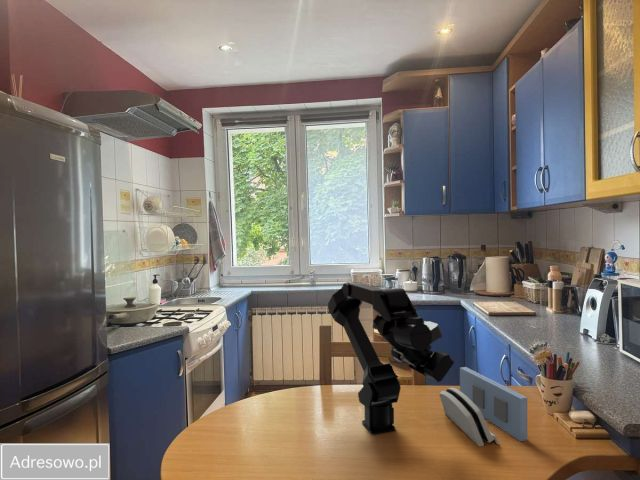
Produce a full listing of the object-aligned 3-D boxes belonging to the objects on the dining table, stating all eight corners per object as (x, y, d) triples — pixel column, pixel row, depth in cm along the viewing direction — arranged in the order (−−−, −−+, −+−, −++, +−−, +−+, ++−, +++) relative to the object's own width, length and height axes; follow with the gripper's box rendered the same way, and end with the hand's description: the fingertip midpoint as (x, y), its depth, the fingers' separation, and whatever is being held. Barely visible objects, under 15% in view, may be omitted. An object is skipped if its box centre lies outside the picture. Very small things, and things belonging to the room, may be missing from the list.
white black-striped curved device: (499, 444, 90) (486, 405, 90) (481, 453, 90) (467, 413, 89) (462, 411, 107) (450, 378, 106) (446, 419, 106) (434, 385, 106)
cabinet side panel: (518, 441, 92) (518, 399, 91) (458, 402, 113) (458, 367, 112) (527, 439, 92) (527, 397, 92) (465, 401, 113) (465, 366, 113)
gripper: (446, 319, 87) (487, 363, 90) (400, 306, 104) (436, 343, 108) (416, 359, 84) (459, 403, 88) (374, 339, 101) (411, 376, 105)
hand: (440, 378), depth 97 cm, fingers closed
